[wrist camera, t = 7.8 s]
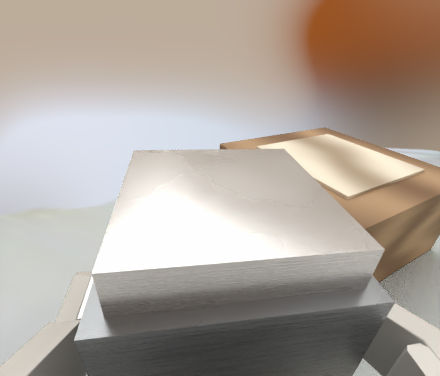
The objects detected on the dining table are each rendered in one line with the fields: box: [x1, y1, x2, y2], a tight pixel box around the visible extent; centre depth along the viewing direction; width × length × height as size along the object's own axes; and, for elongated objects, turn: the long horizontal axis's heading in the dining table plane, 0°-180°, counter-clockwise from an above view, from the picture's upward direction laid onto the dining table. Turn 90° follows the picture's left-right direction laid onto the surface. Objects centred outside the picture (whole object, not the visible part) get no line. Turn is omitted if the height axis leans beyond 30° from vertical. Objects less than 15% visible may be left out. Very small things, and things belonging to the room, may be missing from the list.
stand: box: [220, 128, 440, 282], centre depth 20 cm, size 12×12×6 cm
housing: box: [74, 149, 395, 376], centre depth 9 cm, size 6×6×10 cm
